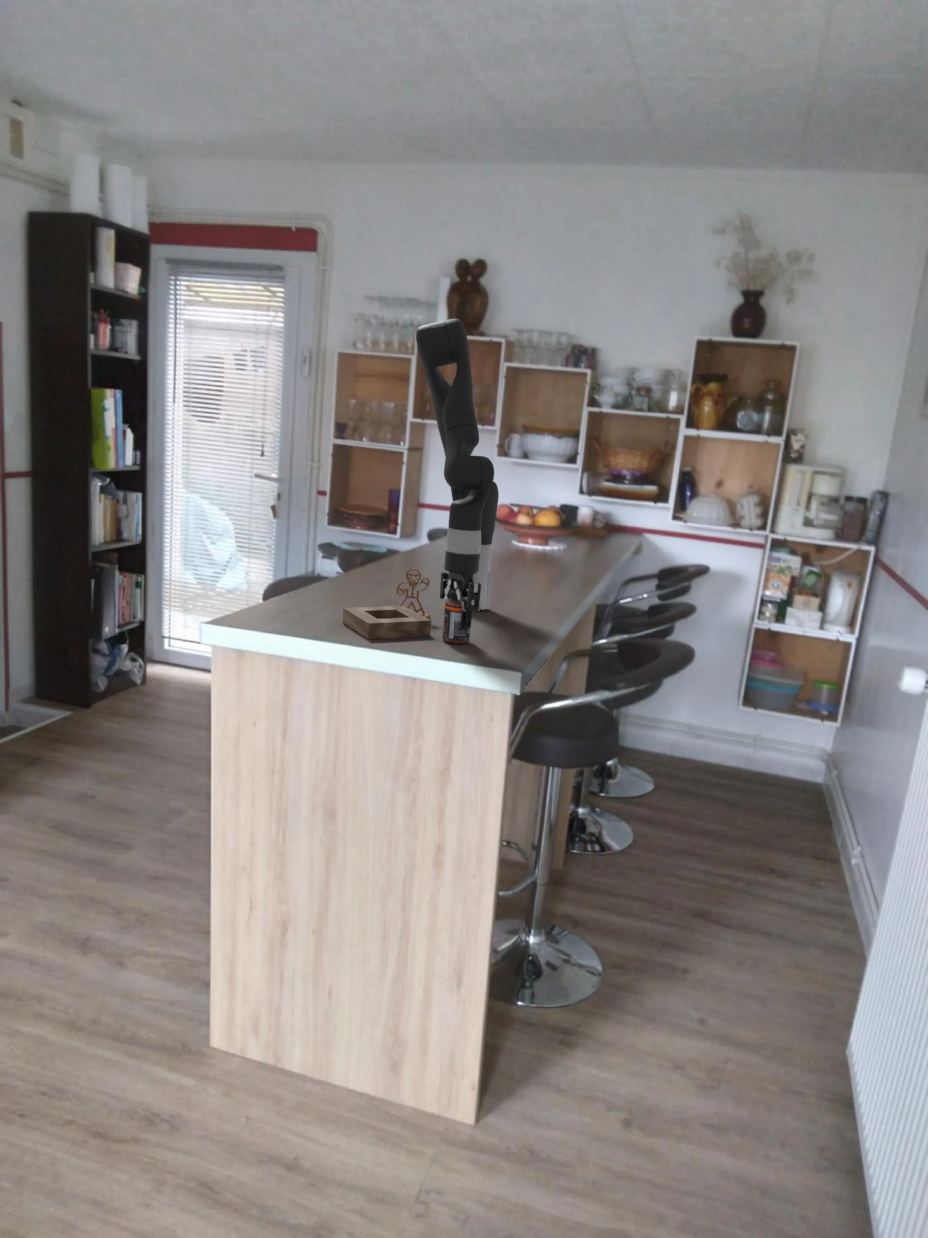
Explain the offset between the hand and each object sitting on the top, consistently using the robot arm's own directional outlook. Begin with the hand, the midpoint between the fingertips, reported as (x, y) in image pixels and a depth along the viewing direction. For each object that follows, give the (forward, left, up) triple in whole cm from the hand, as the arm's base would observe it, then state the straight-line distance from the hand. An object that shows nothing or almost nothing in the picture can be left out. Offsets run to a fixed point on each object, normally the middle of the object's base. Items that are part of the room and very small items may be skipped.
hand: (457, 624), depth 188 cm
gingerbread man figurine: (0, -23, -4) cm, 23 cm away
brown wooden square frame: (+11, -13, -4) cm, 17 cm away
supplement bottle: (0, 0, -4) cm, 4 cm away
